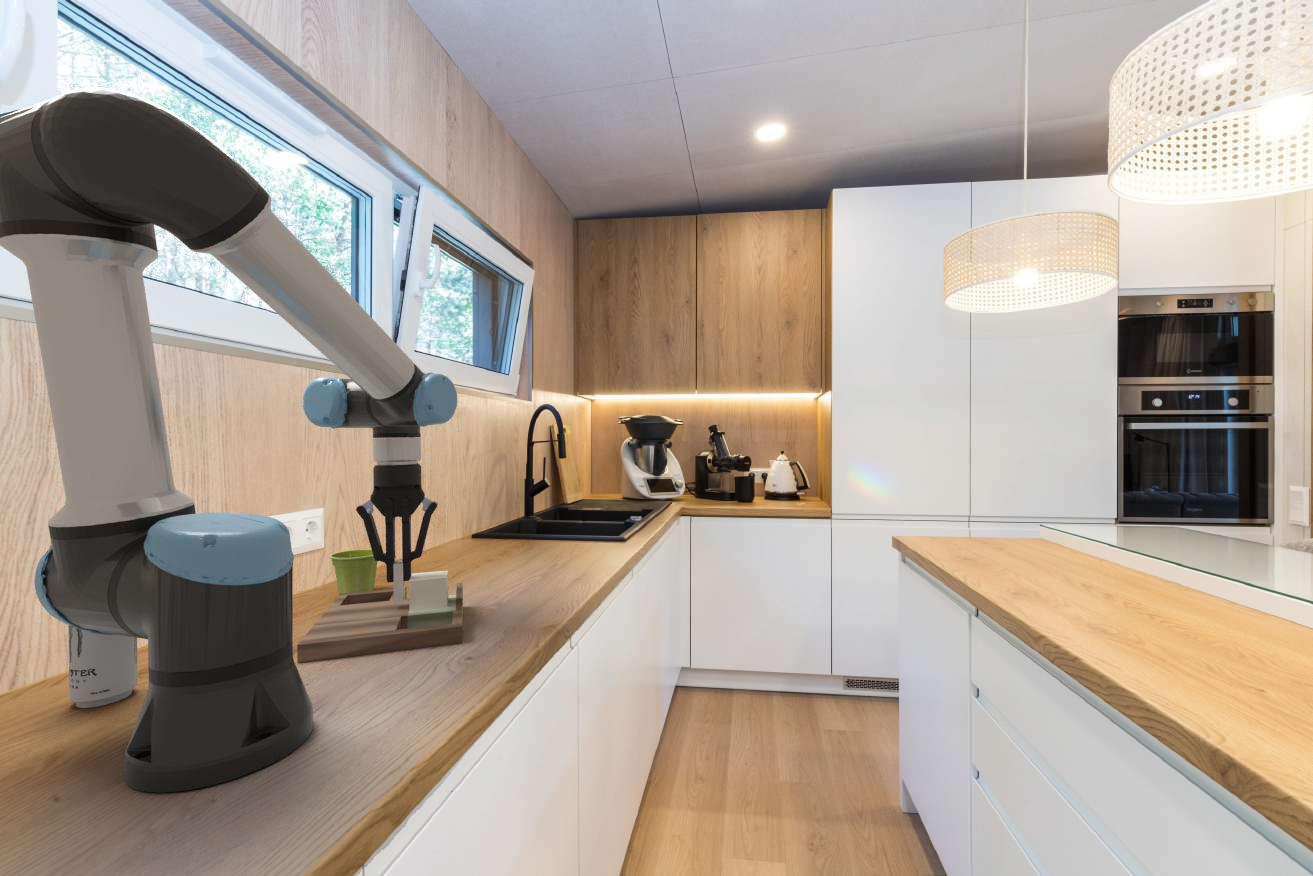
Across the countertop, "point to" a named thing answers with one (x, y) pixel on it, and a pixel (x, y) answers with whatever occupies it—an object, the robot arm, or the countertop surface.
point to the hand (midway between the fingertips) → (399, 600)
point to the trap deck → (380, 626)
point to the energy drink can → (100, 667)
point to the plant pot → (354, 570)
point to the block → (428, 590)
